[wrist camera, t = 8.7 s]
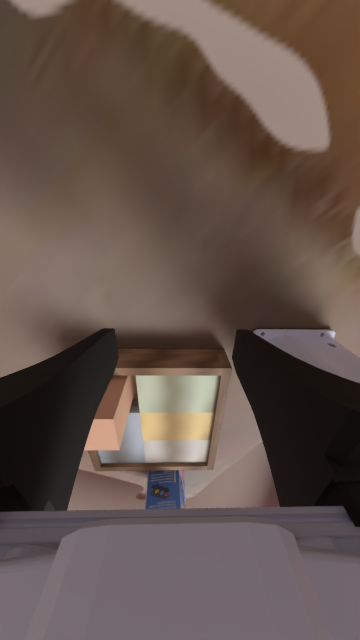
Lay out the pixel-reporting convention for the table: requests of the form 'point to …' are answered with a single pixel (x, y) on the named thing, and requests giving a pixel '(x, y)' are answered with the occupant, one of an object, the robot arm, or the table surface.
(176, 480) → the ink cartridge box
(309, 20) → the table surface
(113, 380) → the terracotta block
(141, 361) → the puzzle tray
